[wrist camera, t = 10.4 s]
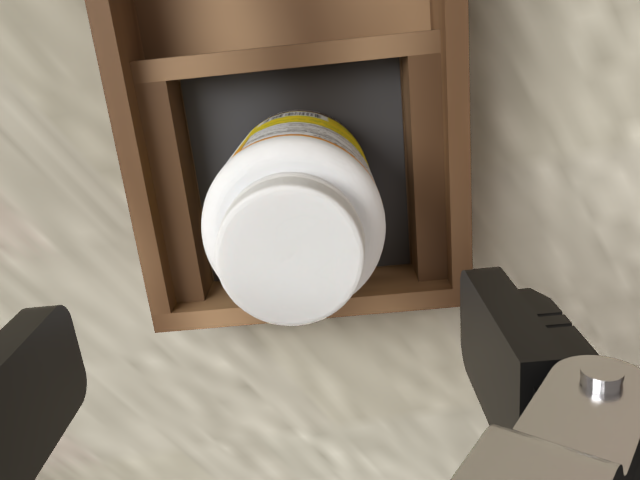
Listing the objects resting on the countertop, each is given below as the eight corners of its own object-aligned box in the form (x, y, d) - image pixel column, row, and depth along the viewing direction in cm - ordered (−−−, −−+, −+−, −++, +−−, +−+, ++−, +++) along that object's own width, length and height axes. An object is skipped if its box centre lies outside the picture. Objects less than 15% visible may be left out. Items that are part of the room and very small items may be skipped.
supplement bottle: (300, 261, 26) (286, 391, 17) (208, 171, 25) (136, 256, 15) (395, 176, 25) (440, 263, 15) (304, 77, 24) (290, 105, 14)
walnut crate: (177, 292, 28) (154, 332, 24) (104, -85, 23) (61, -108, 19) (452, 268, 28) (473, 305, 24) (442, -123, 22) (465, -155, 19)
